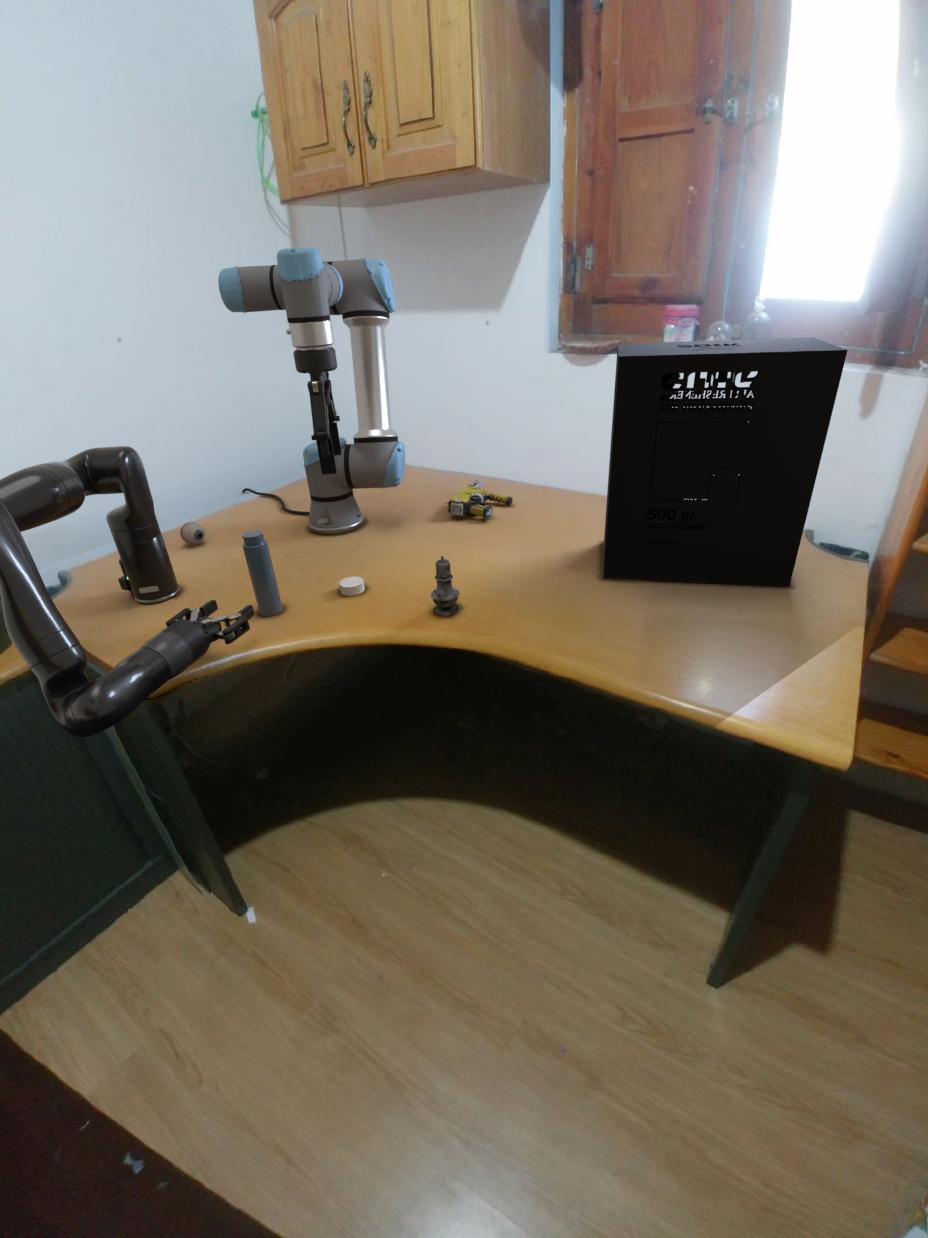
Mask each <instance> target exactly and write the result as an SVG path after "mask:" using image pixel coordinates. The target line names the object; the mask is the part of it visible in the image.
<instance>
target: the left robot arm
mask: <svg viewBox="0 0 928 1238" xmlns="http://www.w3.org/2000/svg"><path fill="white" fill-rule="evenodd" d="M116 494H123V497H124V502H125V503H124V504H122V505H120V506H118V507H116V508H113V509H112V510H110V511H109V512H108V513H107V514H106V516H105V517H106V523H107V526H108V528H109V531H110V533H111V537H112V539H113V542H114V544H115V547H116V549H117V553H118V556H119V559H118V564H119V567H120V569H121V572H122V576H121V577H119V578H117V580H118V581H117V582H118V583H119V586H120V589H121V590H123V591H128V592H129V593H130V596H131V599H133V600H135V602H136V603H138V604H141V605H142V604H143V605H152V604H158V603H163V602H166V601H168V600H170V599H172V598H174V597H175V596H177V595H178V594H179V593H180V591H181V588H180V585H179V583H178V580H177V577H176V574H175V571H174V568H173V567H174V566H173V565H172V561H171V558H170V555H169V552H168V549H167V547H166V542H165V540H164V537H163V534H162V531H161V528H160V525H159V522H158V519H157V516H156V511H155V505H154V503H155V502H154V498H153V495H152V492H151V488H150V484H149V480H148V477H147V472H146V469H145V465H144V462H143V460H142V457H141V456H140V454H139V453H138V451H137V450H135V448H133V447H132V446H128V445H124V446H122V445H118V446H104V447H103V446H102V447H92V448H87V449H85V450H83V451H81V452H79V453H77V454H74V455H72V456H71V457H69V458H67V459H64V460H61V461H60V460H59V461H50V462H49V461H48V462H45V463H39V464H35V465H32V466H27V467H25V468H21V469H19V470H17V471H15V472H12V473H11V474H8V475H6V476H5V477H2V478H0V599H1V605H2V612H3V613H2V614H3V620H4V624H5V628H6V632H7V634H8V637H9V639H10V641H11V643H12V644H13V646H14V648H15V649H16V650H17V652H18V653H19V655H20V656H21V657H22V659H23V661H24V662H25V664H27V667H28V668H29V669H30V671H31V672H32V673H33V674H34V676H35V677H36V678H37V680H38V683H39V685H40V687H41V688H40V689H41V691H42V694H43V696H44V699H45V701H46V704H47V706H48V708H49V710H50V712H51V715H52V716H53V718H54V720H55V721H56V723H57V724H58V725H59V726H60V727H61V728H62V729H63V730H64V731H65V732H67V733H68V734H69V735H71V736H74V737H78V738H89V737H92V736H95V735H97V734H100V733H101V732H104V731H105V730H108V729H110V728H112V727H114V726H116V725H118V724H119V723H120V722H122V721H123V720H124V719H126V718H127V717H128V716H129V715H130V714H131V713H133V712H134V711H135V710H136V709H137V708H138V707H139V706H140V705H141V704H142V703H143V702H144V701H145V700H146V699H147V698H148V697H149V696H151V695H152V694H154V693H156V691H158V690H159V689H160V688H161V687H163V686H164V685H165V684H167V683H169V681H171V680H173V679H174V678H176V677H178V676H179V675H181V674H182V673H183V672H184V671H186V670H187V669H188V668H189V667H192V665H194V664H195V663H196V662H197V661H199V659H201V658H203V657H204V656H205V655H206V654H207V653H208V652H209V651H208V650H209V648H210V645H211V643H213V642H216V641H219V640H223V641H224V644H225V645H231V644H232V643H233V642H235V641H236V640H237V639H239V638H240V637H242V636H244V634H246V633H247V632H249V631H250V630H251V627H250V620H251V619H252V618H253V617H255V614H256V613H255V610H254V606H253V605H252V604H247V605H246V606H244V607H243V608H242V609H240V610H239V611H238V612H237V613H235V614H231V615H228V616H227V614H223V615H220V616H217V617H210V616H211V615H213V614H214V613H215V612H217V611H218V610H219V606H218V603H217V600H216V599H210V600H209V601H207V602H205V603H204V604H203V605H201V606H199V607H194V608H193V609H190V608H189V607H186V608H183V609H182V610H181V611H179V612H178V613H176V614H174V615H173V616H172V617H170V618H169V619H168V620H167V621H166V622H165V625H166V627H165V628H164V629H163V630H161V631H159V632H158V633H157V634H155V635H154V636H151V638H150V639H148V640H146V642H144V644H142V645H141V646H139V648H137V649H135V650H134V651H133V652H132V653H130V654H129V655H127V656H126V657H125V658H123V659H122V660H120V661H119V662H118V663H117V664H116V665H115V666H114V668H112V669H111V670H109V671H107V672H106V673H105V674H103V675H101V676H100V677H98V678H96V679H95V680H93V681H92V682H91V681H90V679H89V676H88V675H87V673H86V666H87V665H88V662H89V655H88V652H87V650H86V649H85V648H84V646H83V644H82V643H81V641H80V640H79V639H78V637H77V636H76V634H75V633H74V631H73V630H72V628H71V627H70V625H69V624H68V623H67V621H66V620H65V618H64V617H63V615H62V614H61V612H60V610H59V609H58V607H57V606H56V604H55V602H54V600H53V598H52V596H51V595H50V593H49V591H48V589H47V587H46V585H45V582H44V580H43V577H42V576H41V574H40V571H39V569H38V567H37V565H36V563H35V560H34V557H33V555H32V554H31V551H30V550H29V546H28V545H27V543H26V541H25V539H24V537H23V534H22V532H26V531H30V530H32V529H36V528H38V527H42V526H44V525H47V524H50V523H52V522H55V521H57V520H58V521H59V520H60V519H63V518H65V517H68V516H69V515H71V514H73V513H75V512H76V511H77V510H79V509H80V508H82V506H83V505H84V502H85V500H86V497H88V496H89V497H90V496H94V495H116ZM184 618H185V619H184ZM233 621H234V622H233ZM222 622H223V623H224V626H225V627H224V629H223V628H222V624H221V623H222ZM231 622H232V623H231Z"/></svg>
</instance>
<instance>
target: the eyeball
mask: <svg viewBox="0 0 928 1238" xmlns="http://www.w3.org/2000/svg"><path fill="white" fill-rule="evenodd" d="M179 532H180V533H179V535H180V538H181V539H182V542H184V543H185V544H187V545H191V546H192V545H193V546H194V545H199V544H200V543H202V542H203V540H204V539H205V535H206V533H205V528H204V527H203V526H202V525H201V524H200V523H198V522H195V521H190V522H189V521H188V522H186V523H184V524H183V525H182V526H181V528H180V530H179Z"/></svg>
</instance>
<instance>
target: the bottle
mask: <svg viewBox="0 0 928 1238" xmlns="http://www.w3.org/2000/svg"><path fill="white" fill-rule="evenodd" d="M241 538H242V539H243V542H242V544H241V546H242V550H243V554H244V558H245V562H246V566H247V569H248V573H249V577H250V581H251V585H252V589H253V593H254V597H255V601H256V605H257V609H258V612H259V615H260V616H263V617H272V616H277V615H279V614H280V613H282V611H283V609H284V607H283V603H282V599H281V594H280V591H279V587H278V581H277V577H276V573H275V570H274V565H273V559H272V556H271V555H272V554H271V551H270V548H269V543H268V540H267V539H266V538H265V534H264V532H263V531H262V530H261V529H252V530H247V531H245V532H244V533H242V535H241Z"/></svg>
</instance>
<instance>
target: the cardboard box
mask: <svg viewBox="0 0 928 1238" xmlns="http://www.w3.org/2000/svg"><path fill="white" fill-rule="evenodd" d="M848 351H849V350H848V349H847V348H844V347H841V346H838V345H836V344H833V343H830V342H828V341H824V340H822V339H819V338H816V337H813V336H812V337H809V336H808V337H787V338H786V337H785V338H784V337H783V338H753V339H752V338H750V339H749V338H748V339H721V340H719V339H717V340H691V341H690V340H688V341H660V342H631V343H630V342H629V343H628V342H627V343H625V342H624V343H617V348H616V361H615V362H616V363H615V376H614V377H615V378H614V379H615V380H614V391H613V404H612V405H613V406H612V408H613V409H612V418H611V419H612V421H611V434H610V435H611V437H610V449H609V462H608V463H609V464H608V476H607V477H608V478H607V489H606V490H607V492H606V504H605V506H606V507H605V521H604V533H603V534H604V535H603V559H602V560H603V561H602V562H603V566H602V573H603V574H602V579H606V580H612V579H613V580H630V581H631V580H632V581H650V582H651V581H655V582H677V583H697V584H698V583H699V584H720V585H721V584H722V585H723V584H724V585H742V586H767V587H768V586H769V587H787V588H789V587H790V586H791V582H792V578H793V573H794V569H795V566H796V562H797V558H798V557H797V556H798V554H799V550H800V546H801V541H802V538H803V534H804V529H805V525H806V521H807V517H808V514H809V509H810V505H811V501H812V497H813V493H814V488H815V485H816V480H817V476H818V472H819V468H820V464H821V461H822V456H823V452H824V447H825V444H826V440H827V436H828V431H829V428H830V423H831V419H832V415H833V411H834V408H835V403H836V399H837V395H838V391H839V387H840V382H841V379H842V375H843V371H844V367H845V363H846V359H847V354H848ZM753 372H757V373H756V375H754V376H751V377H749V376H750V375H751V373H753ZM702 373H706V377H701V375H702ZM717 373H718V374H717ZM729 373H730V375H729ZM681 374H682V376H683V377H682V378H681ZM692 374H694V378H693V384H692V385H693V386H692V387H688V382H689V377H690V376H691V375H692ZM739 374H740V380H739V383H740V384H741V383H742V384H743V383H750V384H748V386H737V385H736V378H737V376H738V375H739ZM723 383H725V385H724V387H719V384H723ZM706 384H708V385H707V387H706ZM675 385H680V386H679V387H675Z"/></svg>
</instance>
